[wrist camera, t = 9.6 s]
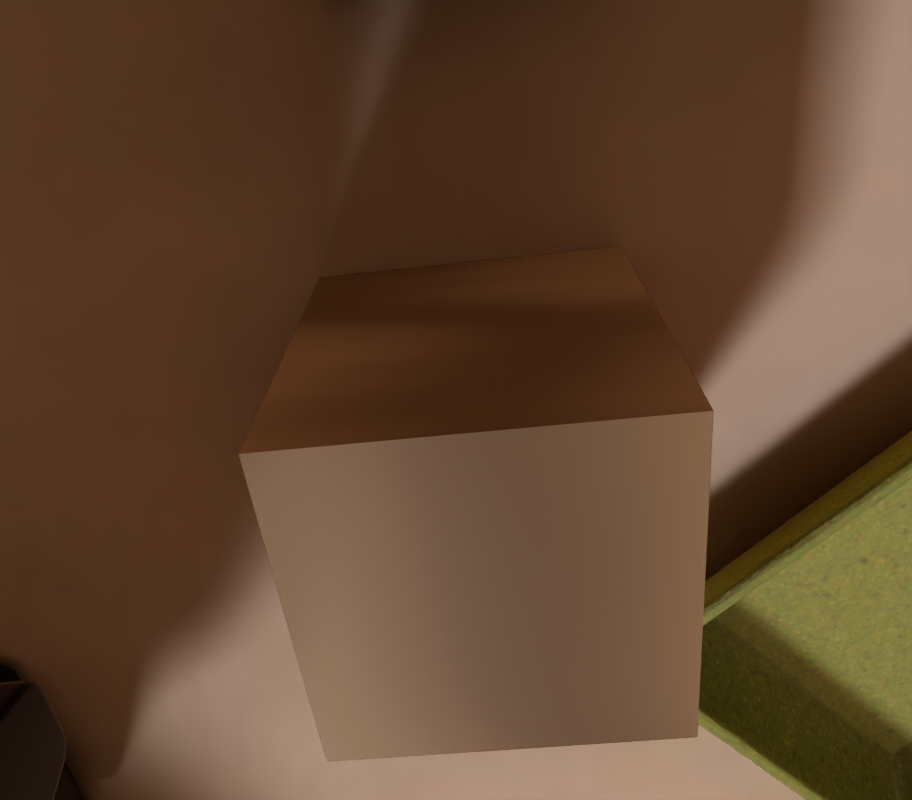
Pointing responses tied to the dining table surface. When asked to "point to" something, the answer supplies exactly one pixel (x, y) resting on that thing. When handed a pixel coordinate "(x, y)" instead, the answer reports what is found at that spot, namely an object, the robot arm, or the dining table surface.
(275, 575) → the block
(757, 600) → the green square dish
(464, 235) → the dining table surface
